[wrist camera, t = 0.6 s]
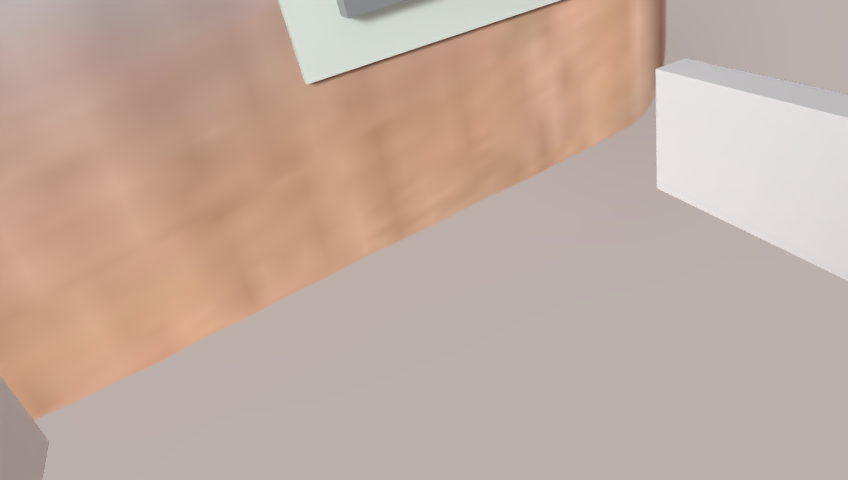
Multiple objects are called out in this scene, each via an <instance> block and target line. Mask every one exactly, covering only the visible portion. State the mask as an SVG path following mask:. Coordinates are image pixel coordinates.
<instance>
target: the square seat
mask: <svg viewBox="0 0 848 480" xmlns="http://www.w3.org/2000/svg"><path fill="white" fill-rule="evenodd" d="M557 1H560V0H278V2H279V5H280V8H281V12H282V15H283V18H284V21H285V24H286V27H287V30H288V33H289V36H290V39H291V42H292V45H293V48H294V51H295V54H296V58H297V61H298V64H299V67H300V70H301V73H302V76H303V79H304V82H305V83H306V84H310V83H313V82H316V81H319V80H322V79H325V78H328V77H331V76H334V75H337V74H340V73H343V72H346V71H349V70H352V69H355V68H358V67H361V66H364V65H367V64H370V63H373V62H376V61H379V60H382V59H385V58H388V57H391V56H394V55H397V54H400V53H403V52H406V51H409V50H412V49H415V48H418V47H421V46H425V45H428V44H431V43H434V42H437V41H440V40H443V39H446V38H449V37H452V36H455V35H458V34H461V33H464V32H467V31H470V30H473V29H476V28H479V27H482V26H485V25H488V24H491V23H494V22H497V21H500V20H503V19H506V18H509V17H512V16H515V15H518V14H521V13H524V12H527V11H530V10H533V9H536V8H539V7H542V6H545V5H548V4H551V3H554V2H557Z"/></svg>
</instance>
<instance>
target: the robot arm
mask: <svg viewBox="0 0 848 480" xmlns="http://www.w3.org/2000/svg"><path fill="white" fill-rule="evenodd" d="M656 149H657V151H656V152H657V189H659V190H661V191H663V192H665V193H667V194H670V195H672V196H674V197H676V198H678V199H680V200H682V201H684V202H686V203H688V204H690V205H692V206H694V207H696V208H698V209H700V210H703V211H705V212H707V213H709V214H711V215H713V216H715V217H717V218H719V219H721V220H723V221H725V222H727V223H730V224H731V225H734V226H736V227H738V228H740V229H742V230H744V231H746V232H748V233H750V234H752V235H754V236H756V237H759V238H760V239H763V240H764V241H767V242H769V243H771V244H773V245H775V246H777V247H779V248H781V249H783V250H785V251H787V252H789V253H792V254H793V255H795V256H798V257H800V258H802V259H804V260H806V261H808V262H810V263H812V264H814V265H816V266H818V267H820V268H822V269H825V270H826V271H828V272H831V273H833V274H835V275H837V276H839V277H841V278H843V279H845V280H847V281H848V94H845V93H841V92H836V91H832V90H827V89H823V88H818V87H814V86H809V85H805V84H800V83H796V82H791V81H786V80H782V79H777V78H773V77H768V76H764V75H759V74H754V73H750V72H746V71H741V70H737V69H732V68H728V67H723V66H719V65H714V64H709V63H704V62H700V61H696V60H691V59H687V58H685V59H682V60H680V61H677V62H674V63H671V64H669V65H666V66H663V67H660V68H657V69H656ZM48 445H49V440H48V439H47V438H46V436H45V435H44V434H43V432H42V431H41V430H40V428H39V427H38V426H37V424H36V423H35V422H34V420H33V419H32V418H31V416H30V415H29V414H28V412H27V411H26V410H25V408H24V407H23V406H22V404H21V403H20V402H19V400H18V399H17V398H16V396H15V395H14V394H13V392H12V391H11V390H10V388H9V387H8V386H7V384H6V383H5V382H4V380H3V379H2V378H1V376H0V480H42V478H43V472H44V467H45V461H46V456H47V450H48Z"/></svg>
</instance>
